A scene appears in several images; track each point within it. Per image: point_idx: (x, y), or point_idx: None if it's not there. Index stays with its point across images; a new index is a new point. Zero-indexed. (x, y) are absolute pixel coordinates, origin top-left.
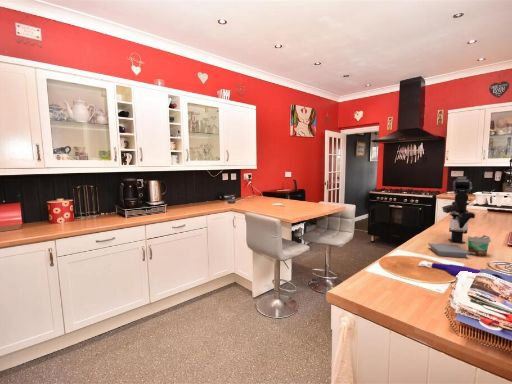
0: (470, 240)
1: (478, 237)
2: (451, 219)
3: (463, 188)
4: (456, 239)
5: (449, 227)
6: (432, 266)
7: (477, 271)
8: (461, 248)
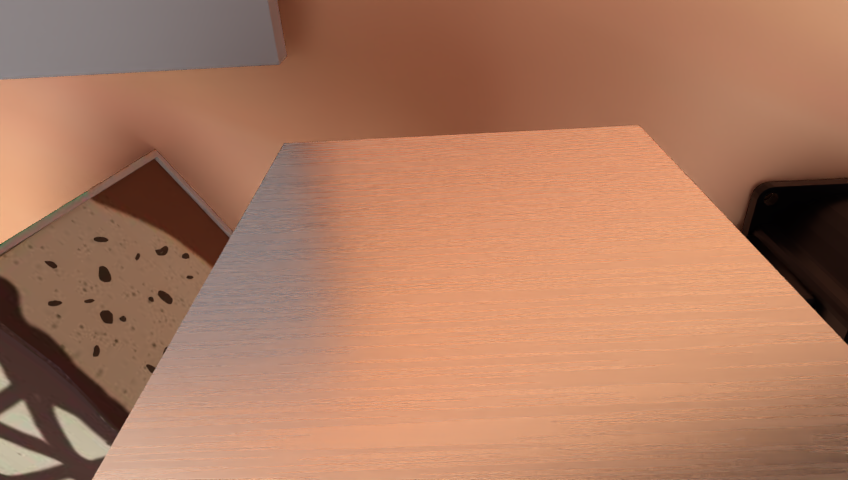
0: None
1: (103, 455)
2: (658, 464)
3: None
4: (776, 251)
5: (635, 132)
6: None
7: None
8: (49, 68)
